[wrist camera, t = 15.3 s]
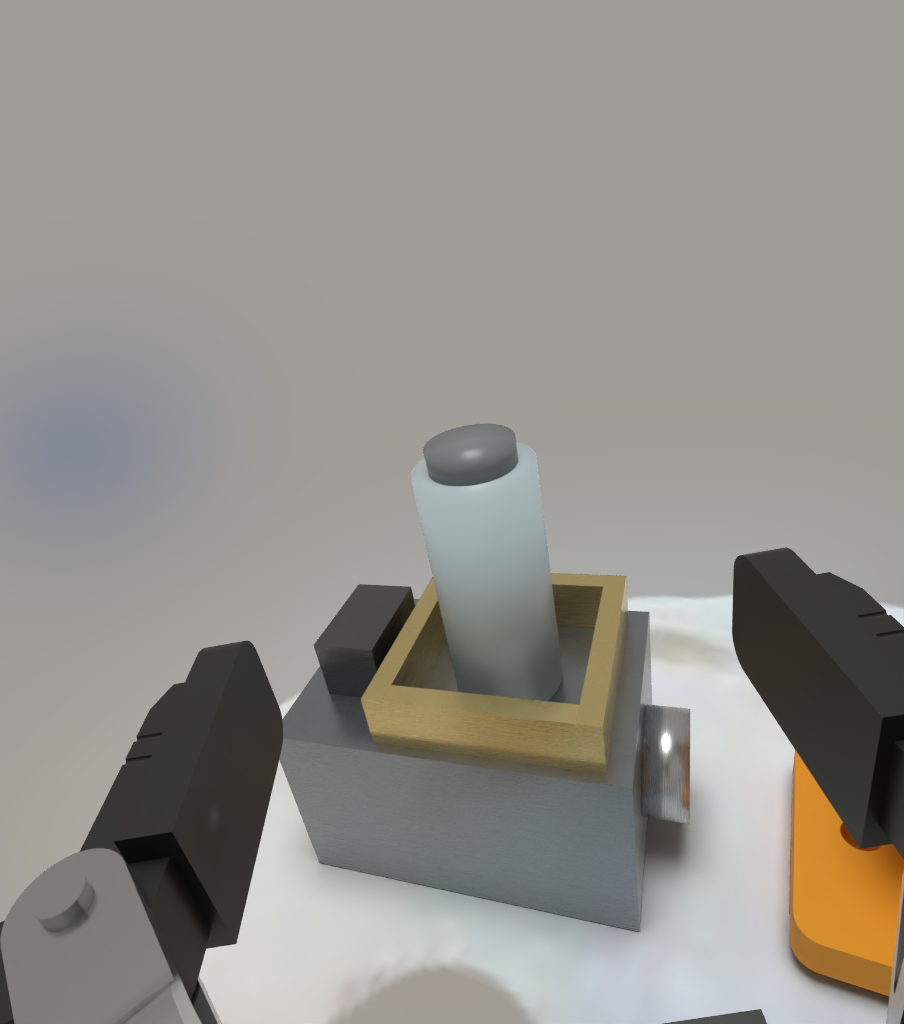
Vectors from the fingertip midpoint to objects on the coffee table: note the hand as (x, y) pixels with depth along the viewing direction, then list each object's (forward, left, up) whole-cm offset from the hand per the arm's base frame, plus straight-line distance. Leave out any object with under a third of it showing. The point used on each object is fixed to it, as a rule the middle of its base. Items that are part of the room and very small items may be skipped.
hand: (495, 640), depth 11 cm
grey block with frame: (+7, -15, -23) cm, 28 cm away
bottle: (+5, -15, -14) cm, 21 cm away
